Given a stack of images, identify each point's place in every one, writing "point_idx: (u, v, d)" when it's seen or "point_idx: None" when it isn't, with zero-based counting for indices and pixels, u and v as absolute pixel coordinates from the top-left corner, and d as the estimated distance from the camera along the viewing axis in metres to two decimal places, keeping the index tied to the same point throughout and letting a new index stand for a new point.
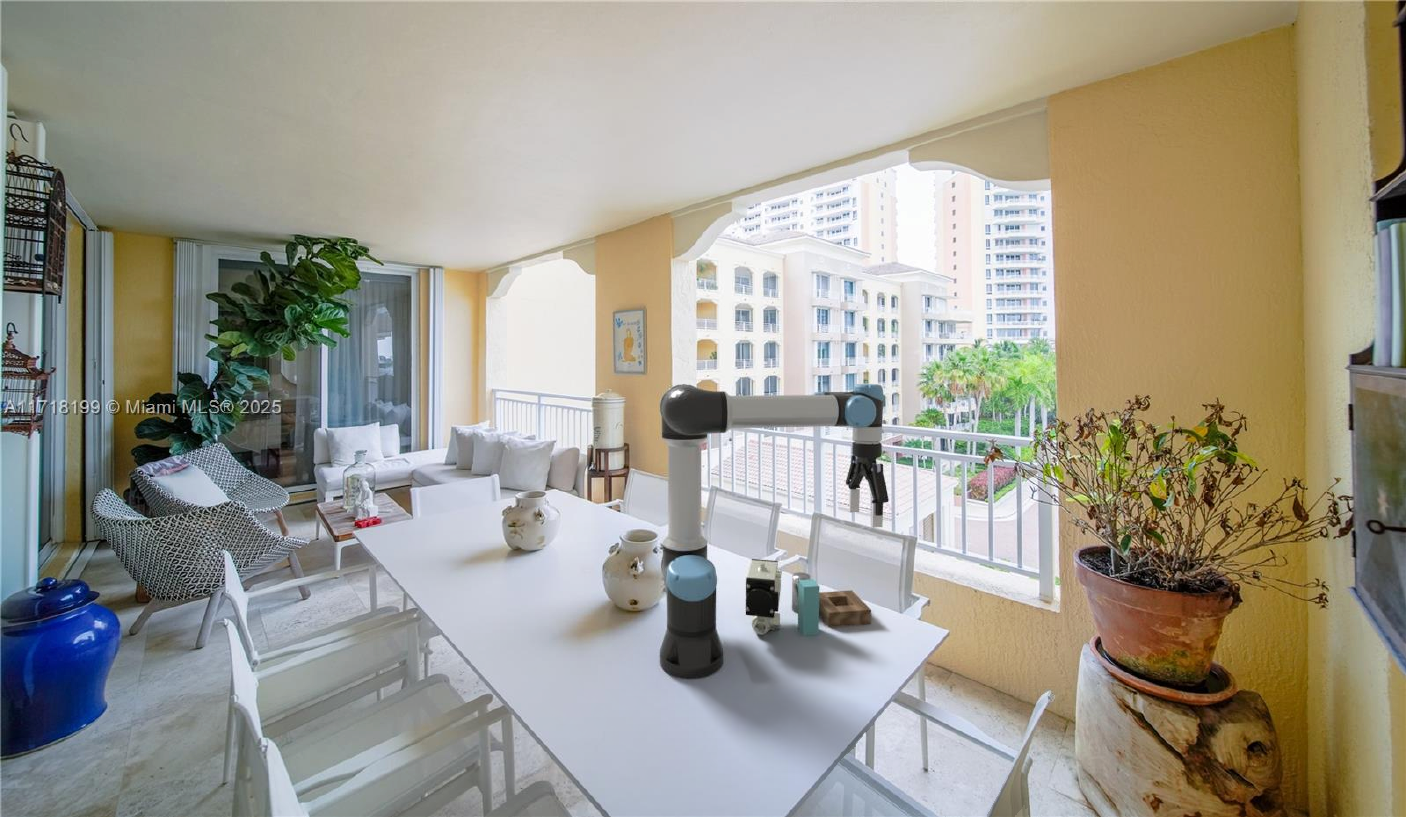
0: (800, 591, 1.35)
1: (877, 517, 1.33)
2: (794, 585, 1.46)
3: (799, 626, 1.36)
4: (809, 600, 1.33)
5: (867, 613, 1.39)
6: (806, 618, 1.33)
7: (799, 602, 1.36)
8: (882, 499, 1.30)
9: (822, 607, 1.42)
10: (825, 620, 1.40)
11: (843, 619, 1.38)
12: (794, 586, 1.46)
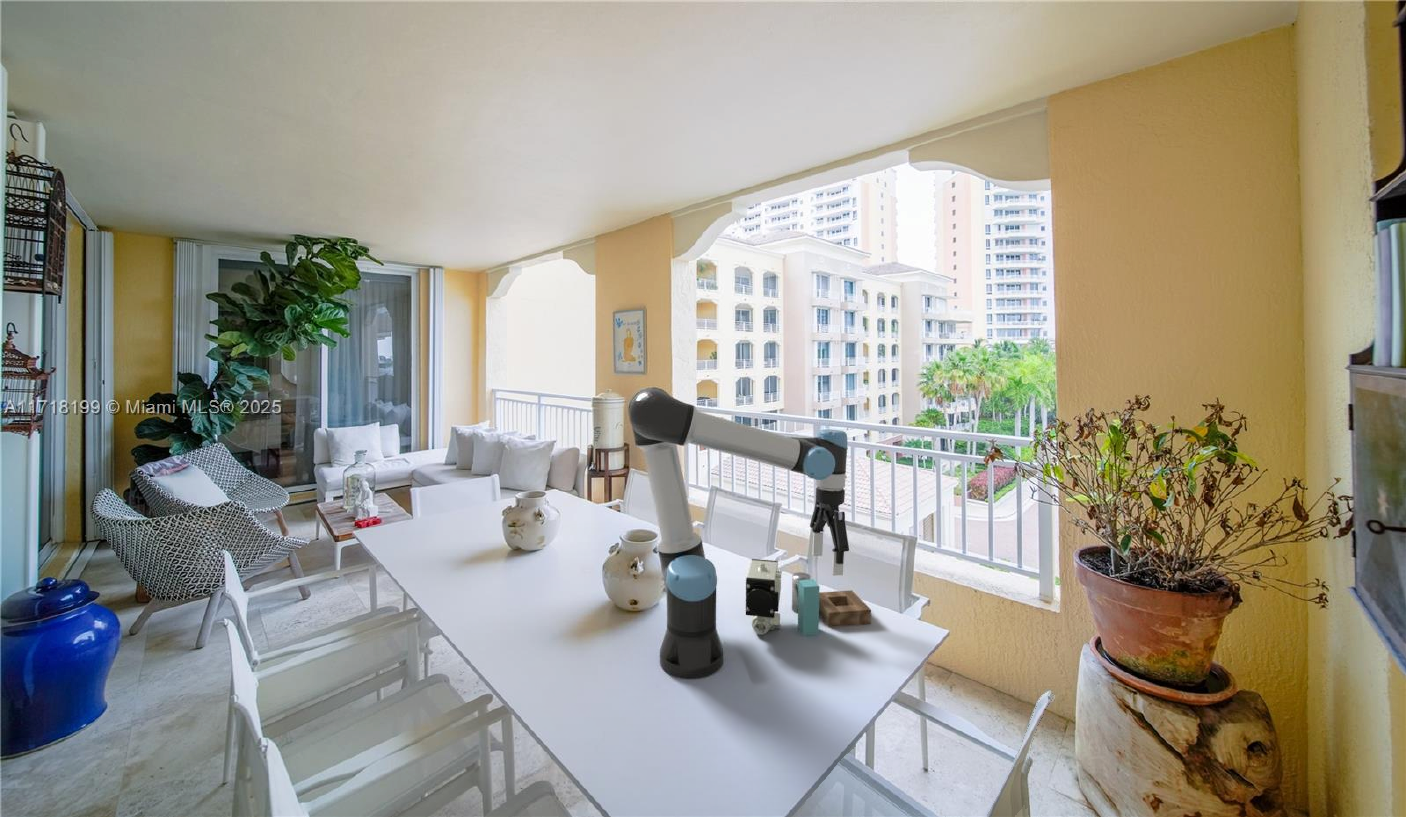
0: (800, 591, 1.35)
1: (838, 565, 1.32)
2: (794, 585, 1.46)
3: (799, 626, 1.36)
4: (809, 600, 1.33)
5: (867, 613, 1.39)
6: (806, 618, 1.33)
7: (799, 602, 1.36)
8: (842, 548, 1.29)
9: (822, 607, 1.42)
10: (825, 620, 1.40)
11: (843, 619, 1.38)
12: (794, 586, 1.46)
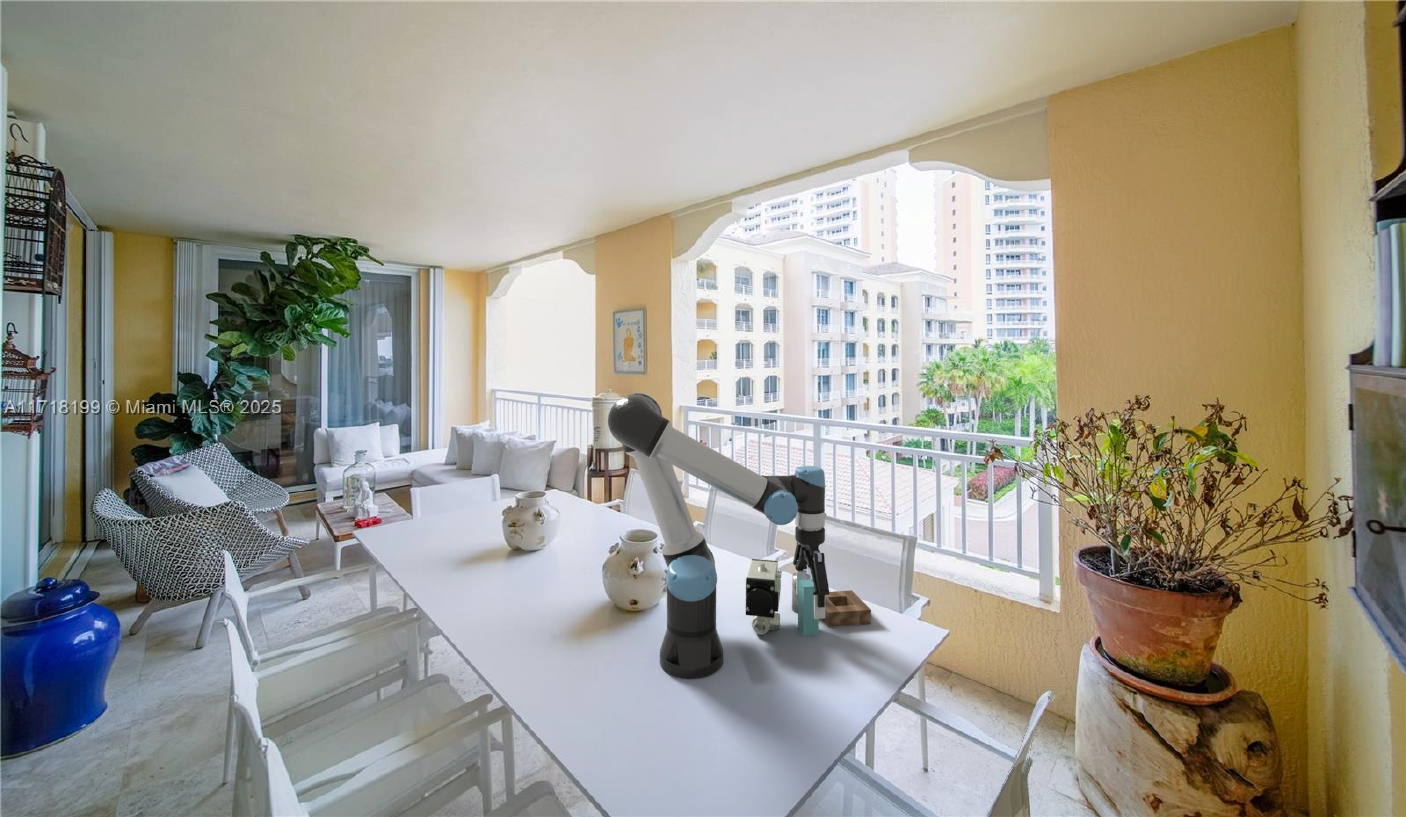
0: (800, 591, 1.35)
1: (819, 608, 1.28)
2: (794, 585, 1.46)
3: (799, 626, 1.36)
4: (809, 600, 1.33)
5: (867, 613, 1.39)
6: (806, 618, 1.33)
7: (799, 602, 1.36)
8: (822, 592, 1.25)
9: None
10: (825, 620, 1.40)
11: (843, 619, 1.38)
12: (794, 586, 1.46)
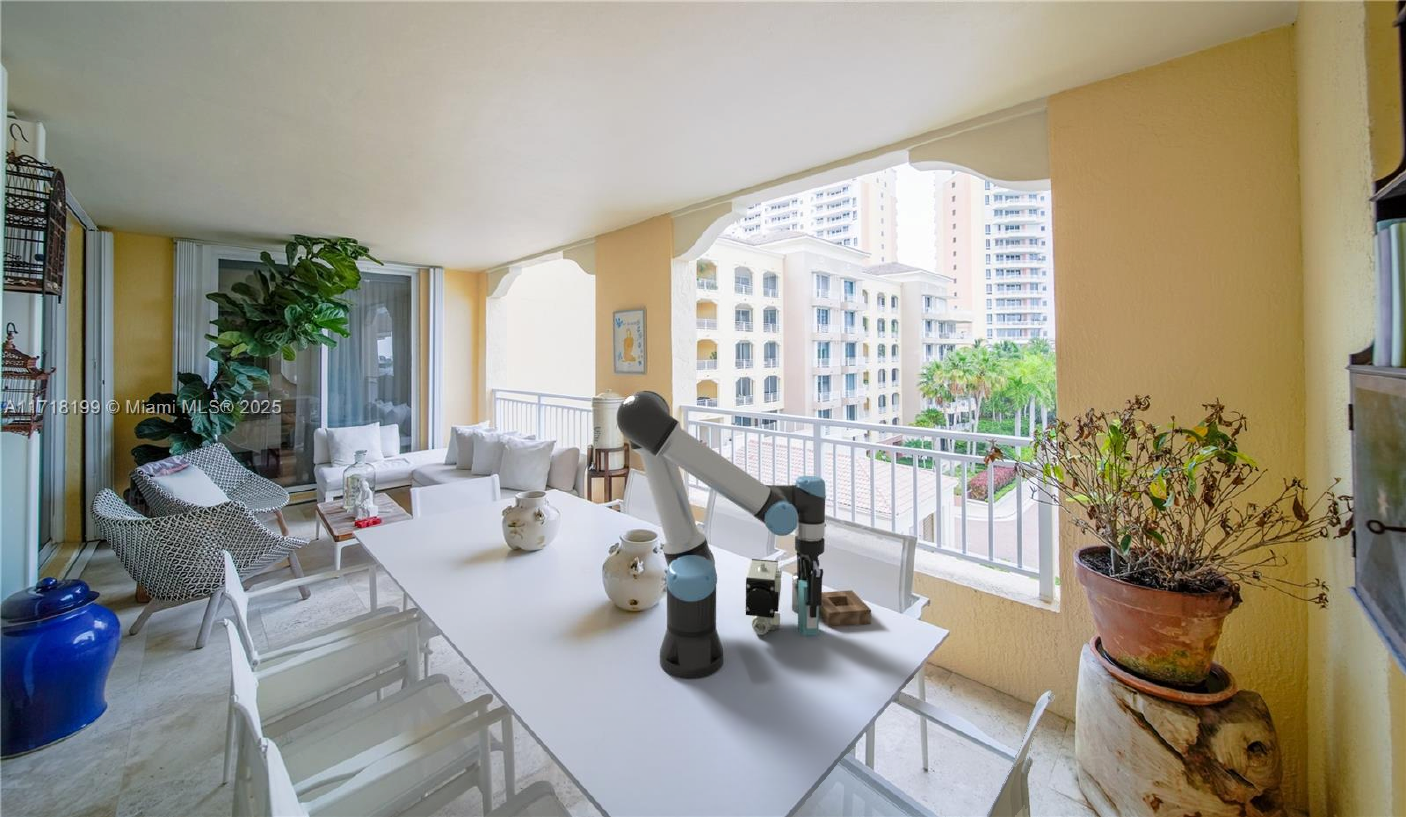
0: (800, 591, 1.35)
1: (811, 618, 1.33)
2: (794, 585, 1.46)
3: (799, 626, 1.36)
4: None
5: (867, 613, 1.39)
6: None
7: (799, 602, 1.36)
8: (815, 604, 1.29)
9: (822, 607, 1.42)
10: (825, 620, 1.40)
11: (843, 619, 1.38)
12: (794, 586, 1.46)
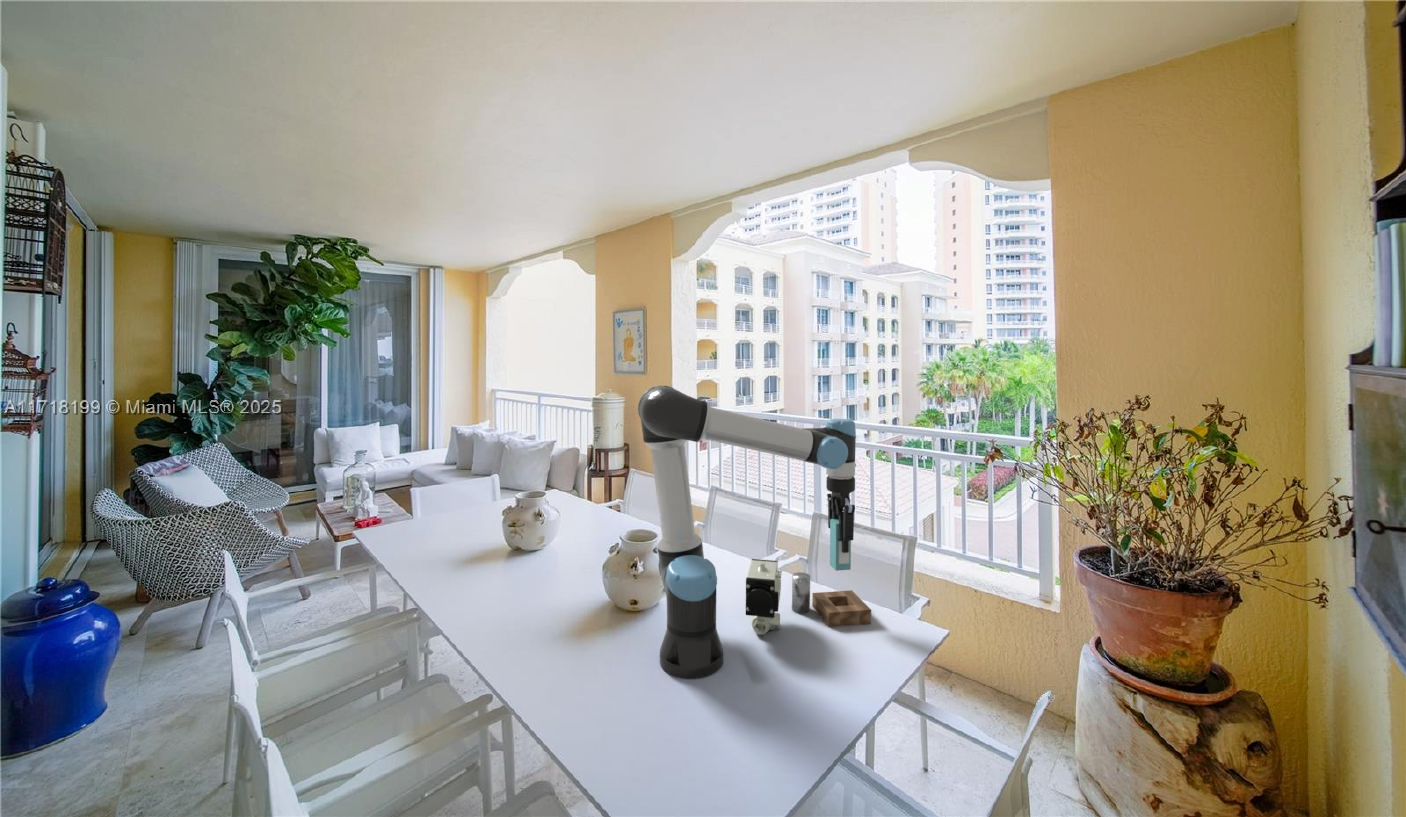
0: (832, 529, 1.41)
1: (843, 554, 1.39)
2: (794, 585, 1.46)
3: (831, 563, 1.42)
4: None
5: (867, 613, 1.39)
6: None
7: (831, 540, 1.42)
8: (847, 539, 1.36)
9: (822, 607, 1.42)
10: (825, 620, 1.40)
11: (843, 619, 1.38)
12: (794, 586, 1.46)
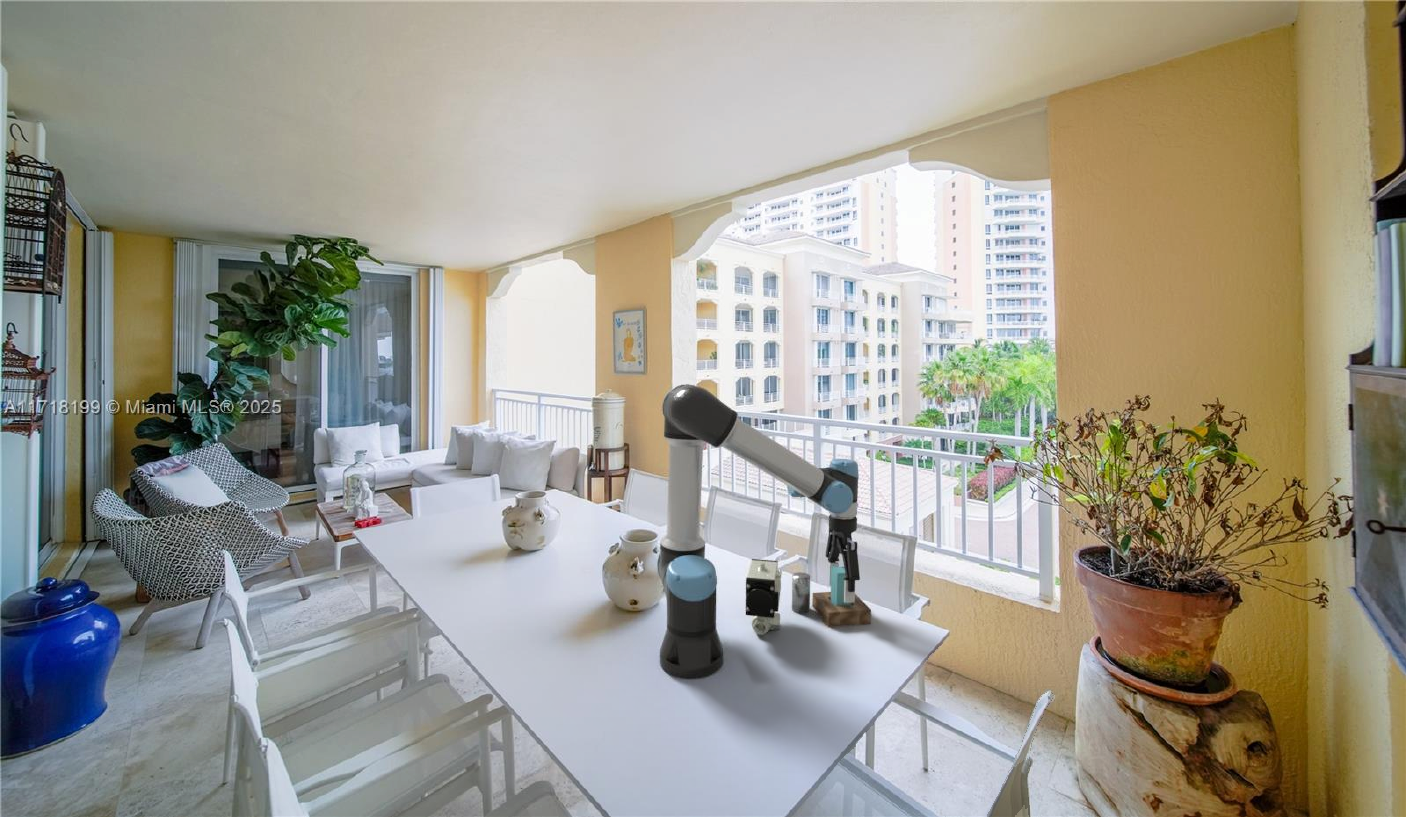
0: (833, 577, 1.44)
1: (849, 593, 1.38)
2: (794, 585, 1.46)
3: None
4: (842, 585, 1.42)
5: (867, 613, 1.39)
6: (839, 603, 1.42)
7: (832, 588, 1.45)
8: (853, 578, 1.35)
9: (822, 607, 1.42)
10: (825, 620, 1.40)
11: (843, 619, 1.38)
12: (794, 586, 1.46)
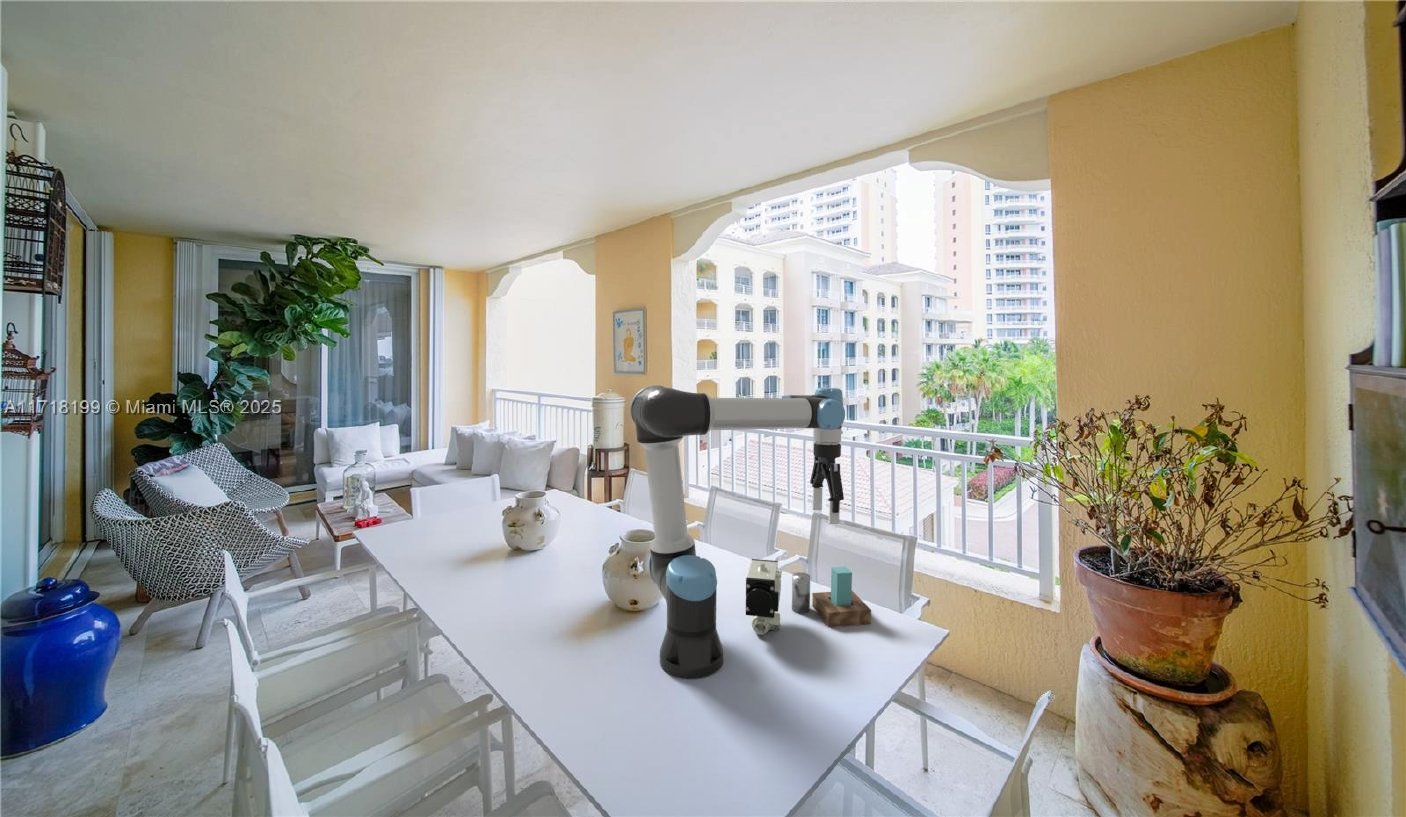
0: (833, 577, 1.44)
1: (834, 514, 1.40)
2: (794, 585, 1.46)
3: None
4: (842, 585, 1.42)
5: (867, 613, 1.39)
6: (839, 603, 1.42)
7: (832, 588, 1.45)
8: (837, 497, 1.36)
9: (822, 607, 1.42)
10: (825, 620, 1.40)
11: (843, 619, 1.38)
12: (794, 586, 1.46)
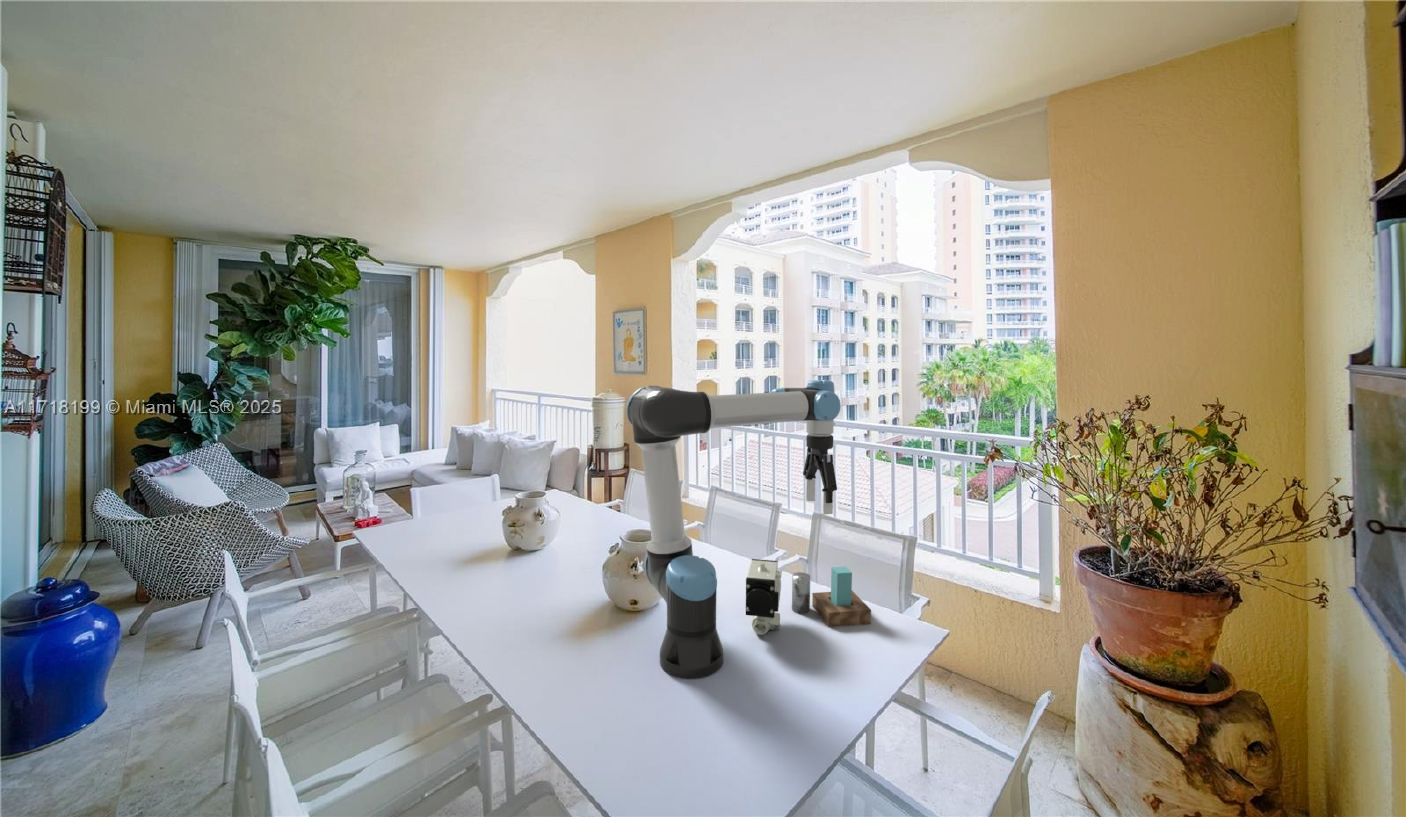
0: (833, 577, 1.44)
1: (827, 504, 1.42)
2: (794, 585, 1.46)
3: None
4: (842, 585, 1.42)
5: (867, 613, 1.39)
6: (839, 603, 1.42)
7: (832, 588, 1.45)
8: (831, 487, 1.39)
9: (822, 607, 1.42)
10: (825, 620, 1.40)
11: (843, 619, 1.38)
12: (794, 586, 1.46)
